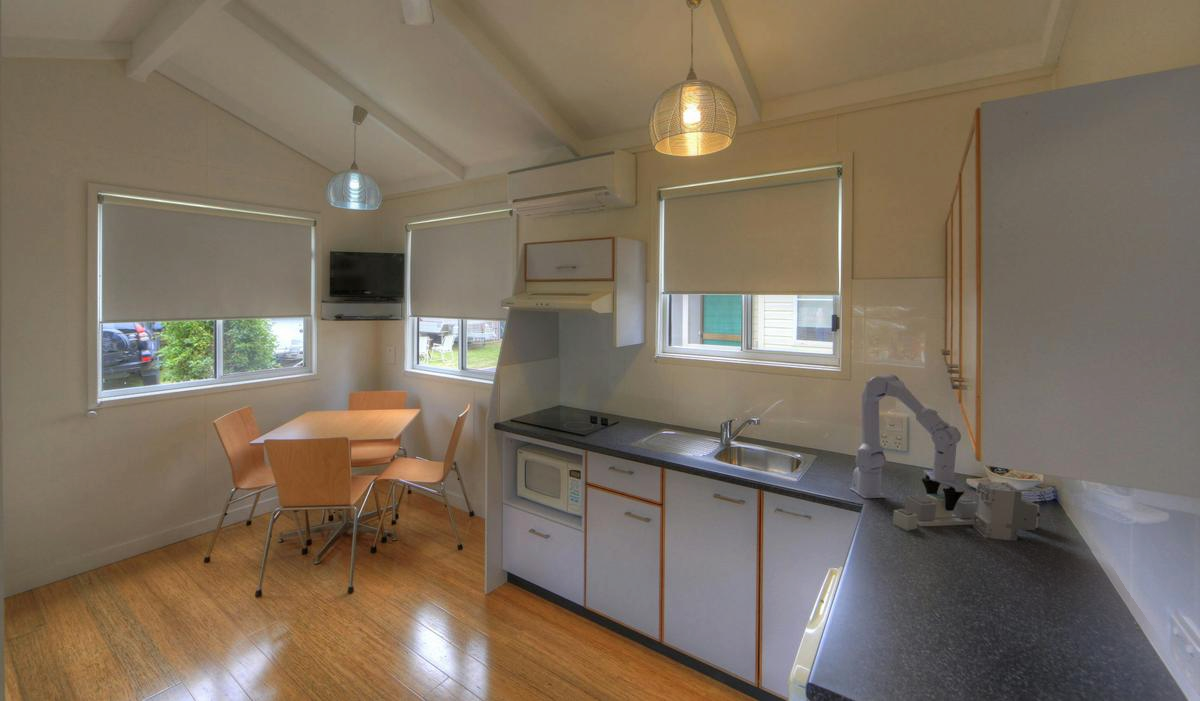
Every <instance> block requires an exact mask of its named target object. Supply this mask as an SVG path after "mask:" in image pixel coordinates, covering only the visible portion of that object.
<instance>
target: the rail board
mask: <svg viewBox="0 0 1200 701" xmlns="http://www.w3.org/2000/svg"><path fill="white" fill-rule="evenodd" d="M904 506H905V508H904V509H905V510H907V511H910V512H912V513H914V514H916V515H917V526H919V527H936V526H937V527H938V526H939V527H940V526H941V527H942V526H965V525H969V526H970V525H974V513H977V511H978V503H977V502H976V501H974V500H971V499H970V498H968V497H966V496H963V495H962V496H961V497H960V498H959V500H958V501H957V503H956V505H955V508H954V510H953V515H952V517H942V518H935V512H936V504H935V503H933V502H931V501H929V500H927V499H926V497H923V496H922V495H907V496H905V504H904ZM976 521H978V519H976Z"/></svg>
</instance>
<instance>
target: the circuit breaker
mask: <svg viewBox="0 0 1200 701" xmlns="http://www.w3.org/2000/svg"><path fill="white" fill-rule="evenodd" d="M977 483H978V484H977V486H976V495H977V496H978V505H977V512H976V513H974V524H973V526H972V527H973V528H974V530H976V531H977V532H978V533H979V534H980V535H982V536H983V537H984V538H985V539H994V540H1004V541H1012V542H1013V541H1014V542H1015V541H1018V532H1019V530H1024V529H1027V530H1026V531H1028V530H1029V531H1035V530H1036V528H1035V527H1036V518H1037V516H1039V517H1040V512H1039V513H1038V512H1037V508H1038V506H1037V505H1038V504H1037V503H1034V502H1033V501H1032V500H1030V499H1028V498H1026V497H1025V496H1023V494H1022V491H1021V490H1019V489H1017V488H1016V487H1014V486H1013V485H1012V484H1010V483H1008V482H1003V481H1002V482H999V481H988V480H978V482H977ZM1036 504H1037V505H1036ZM976 519H978V521H976Z"/></svg>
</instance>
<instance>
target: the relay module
mask: <svg viewBox="0 0 1200 701" xmlns="http://www.w3.org/2000/svg"><path fill="white" fill-rule="evenodd" d="M925 499H927V500H929V501H931V502H933V503H935V504H936V512H935V518H942V517H952V515H953V511H947V510H946V507H945V494H944V493H937V494H927V493H926V494H925Z"/></svg>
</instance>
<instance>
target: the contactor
mask: <svg viewBox="0 0 1200 701" xmlns="http://www.w3.org/2000/svg"><path fill="white" fill-rule="evenodd" d="M892 525H894V526H896V527H899V528H900V529H903V530H905V531H911V530H916V529H918V528H917V526H918V524H917V515H916V514H914V513H912V512H910V511H907V510H905V508H900V509H894V510H893V517H892Z"/></svg>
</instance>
